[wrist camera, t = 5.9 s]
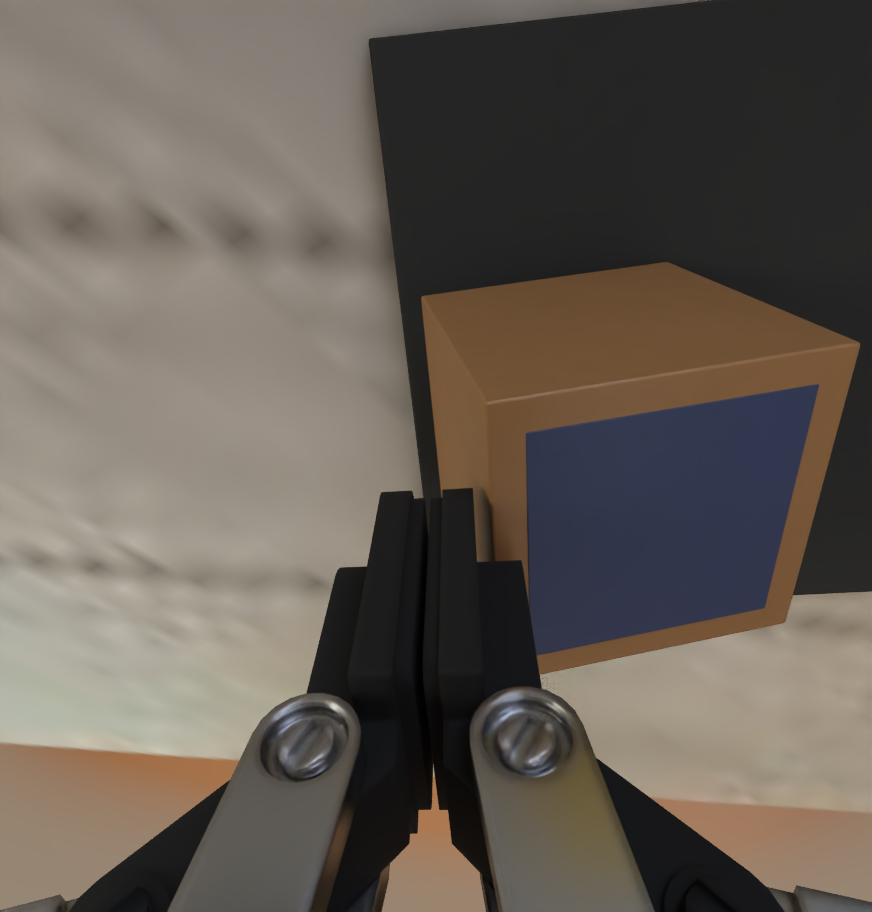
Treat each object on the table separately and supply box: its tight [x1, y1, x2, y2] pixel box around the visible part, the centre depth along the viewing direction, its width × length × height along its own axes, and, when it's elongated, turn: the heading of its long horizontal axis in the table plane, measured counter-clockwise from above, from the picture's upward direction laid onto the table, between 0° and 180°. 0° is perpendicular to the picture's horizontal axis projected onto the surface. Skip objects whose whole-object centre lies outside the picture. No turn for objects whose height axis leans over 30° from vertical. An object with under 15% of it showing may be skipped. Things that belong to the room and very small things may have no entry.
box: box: [421, 262, 860, 674], centre depth 13 cm, size 6×6×6 cm
